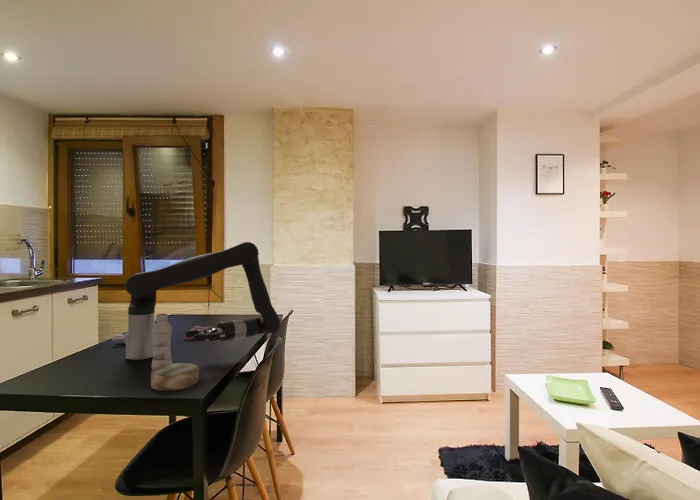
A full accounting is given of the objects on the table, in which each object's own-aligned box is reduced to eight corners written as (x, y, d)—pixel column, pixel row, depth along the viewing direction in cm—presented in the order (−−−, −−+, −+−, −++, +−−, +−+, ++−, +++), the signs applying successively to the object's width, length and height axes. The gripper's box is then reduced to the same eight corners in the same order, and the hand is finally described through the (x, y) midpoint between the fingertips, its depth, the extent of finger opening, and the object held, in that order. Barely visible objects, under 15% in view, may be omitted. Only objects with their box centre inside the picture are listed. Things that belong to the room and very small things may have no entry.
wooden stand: (142, 390, 118) (142, 375, 118) (162, 375, 132) (162, 362, 132) (189, 390, 118) (189, 375, 118) (204, 375, 132) (204, 362, 132)
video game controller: (189, 343, 182) (195, 330, 181) (181, 339, 182) (187, 326, 182) (201, 339, 191) (207, 326, 191) (193, 334, 192) (199, 322, 191)
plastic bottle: (158, 376, 131) (158, 316, 131) (147, 372, 135) (147, 315, 134) (176, 371, 136) (176, 314, 136) (164, 368, 140) (164, 312, 140)
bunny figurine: (149, 336, 172) (111, 334, 169) (147, 347, 172) (109, 345, 168) (154, 331, 182) (118, 329, 178) (152, 342, 181) (116, 340, 178)
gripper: (224, 318, 158) (183, 323, 147) (240, 323, 148) (197, 329, 137) (223, 336, 158) (182, 342, 147) (240, 343, 148) (197, 350, 137)
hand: (190, 336), depth 142 cm, fingers open, 8 cm apart
